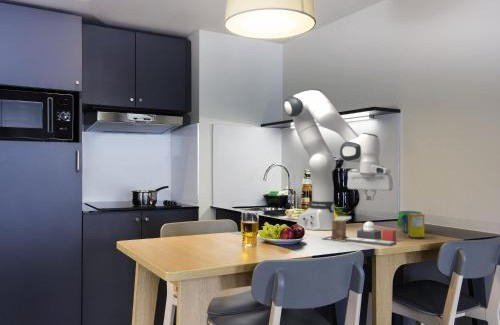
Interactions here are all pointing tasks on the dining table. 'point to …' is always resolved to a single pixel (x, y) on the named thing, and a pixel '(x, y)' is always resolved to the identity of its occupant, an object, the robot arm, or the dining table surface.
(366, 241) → the game track
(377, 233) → the dome housing
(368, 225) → the dome button
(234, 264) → the dining table surface
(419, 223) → the supplement box
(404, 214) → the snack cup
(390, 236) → the red die
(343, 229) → the brown wooden block
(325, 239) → the pad
